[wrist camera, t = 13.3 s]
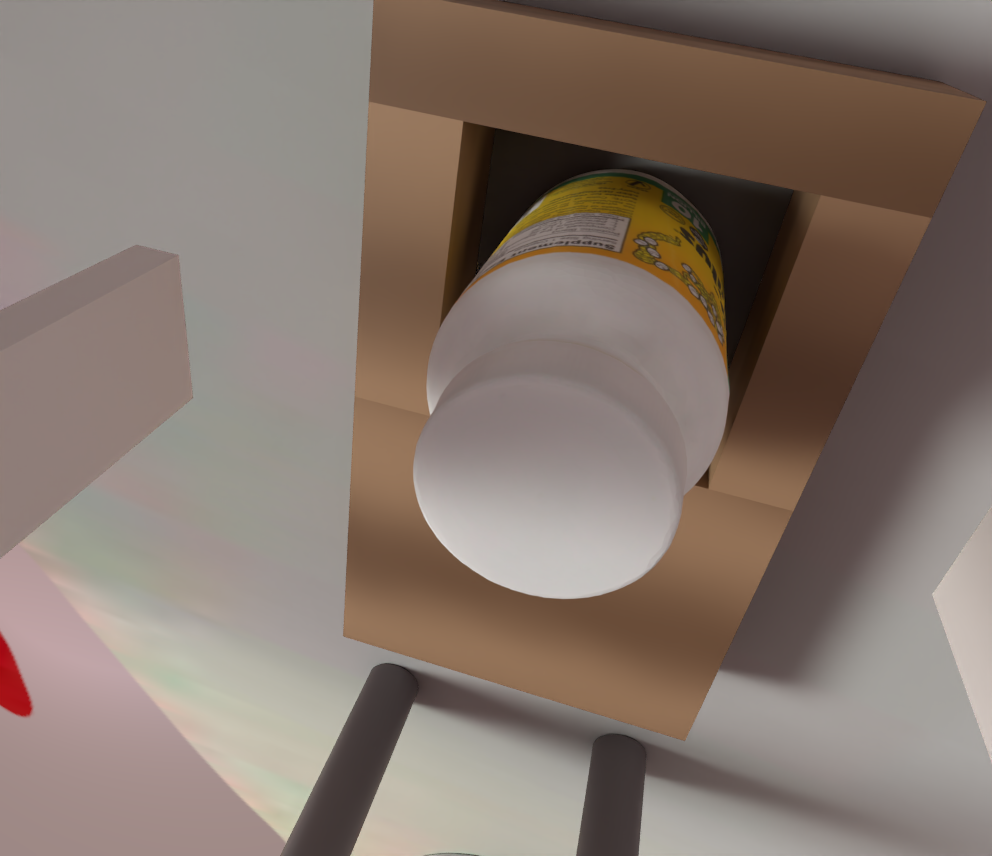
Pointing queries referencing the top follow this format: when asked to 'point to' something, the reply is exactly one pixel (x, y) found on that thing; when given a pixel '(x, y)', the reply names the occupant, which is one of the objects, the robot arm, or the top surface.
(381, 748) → the grey l-shaped post
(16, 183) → the top surface
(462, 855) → the canned food
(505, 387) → the supplement bottle
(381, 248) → the socket block
